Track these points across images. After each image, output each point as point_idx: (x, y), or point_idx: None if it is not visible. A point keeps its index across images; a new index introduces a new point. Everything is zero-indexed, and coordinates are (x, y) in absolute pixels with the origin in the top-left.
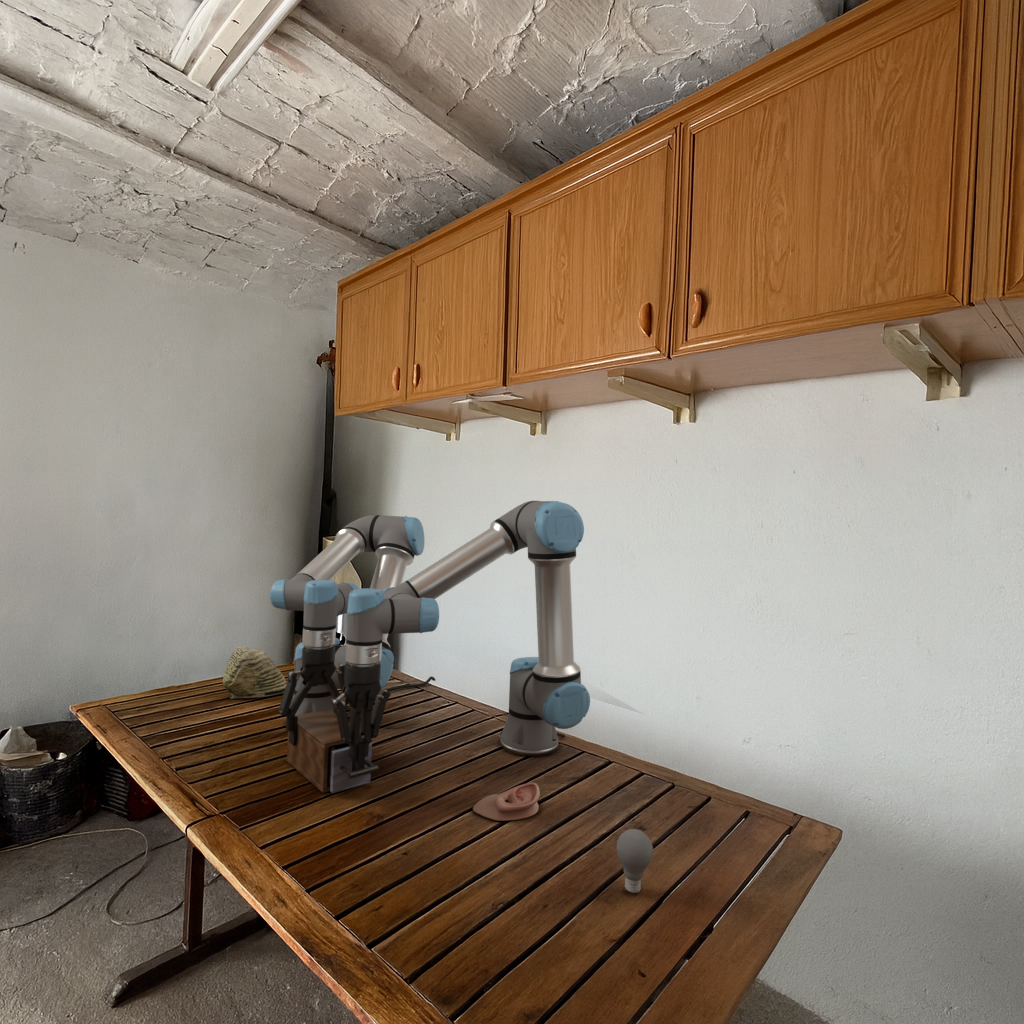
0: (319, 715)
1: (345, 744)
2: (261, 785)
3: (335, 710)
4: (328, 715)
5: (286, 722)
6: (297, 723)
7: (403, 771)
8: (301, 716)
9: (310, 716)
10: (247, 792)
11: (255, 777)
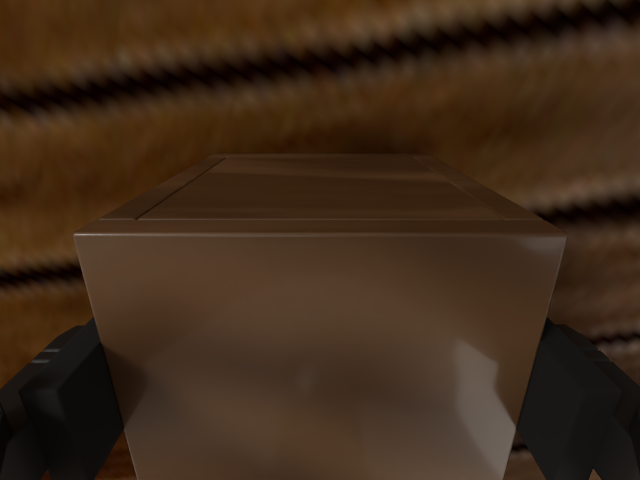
0: (375, 357)
1: None
2: (68, 315)
3: (548, 401)
4: (445, 395)
5: (25, 376)
6: (121, 429)
7: (534, 462)
8: (206, 293)
9: (288, 337)
10: (14, 337)
11: (52, 238)
